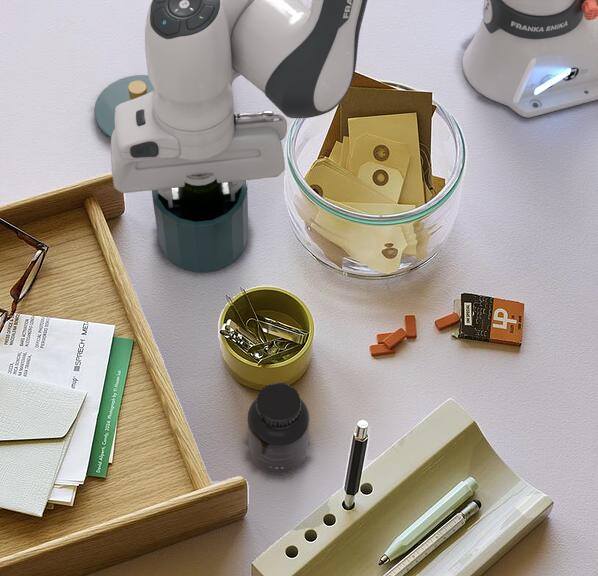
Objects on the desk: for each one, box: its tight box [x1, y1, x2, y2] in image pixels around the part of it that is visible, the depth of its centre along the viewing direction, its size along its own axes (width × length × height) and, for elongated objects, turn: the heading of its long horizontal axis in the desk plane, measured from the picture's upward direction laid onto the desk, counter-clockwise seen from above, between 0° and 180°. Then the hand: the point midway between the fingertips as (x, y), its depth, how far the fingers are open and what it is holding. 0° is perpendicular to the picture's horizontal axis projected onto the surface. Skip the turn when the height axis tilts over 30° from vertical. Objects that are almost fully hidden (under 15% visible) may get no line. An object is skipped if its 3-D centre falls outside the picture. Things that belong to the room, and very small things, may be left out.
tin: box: [151, 180, 249, 273], centre depth 130 cm, size 11×11×10 cm
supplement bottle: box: [246, 381, 310, 475], centre depth 116 cm, size 7×7×12 cm
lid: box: [94, 74, 153, 140], centre depth 141 cm, size 12×12×5 cm
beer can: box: [178, 173, 224, 222], centre depth 128 cm, size 5×5×12 cm
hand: (201, 200), depth 128 cm, fingers closed on beer can, 5 cm apart
